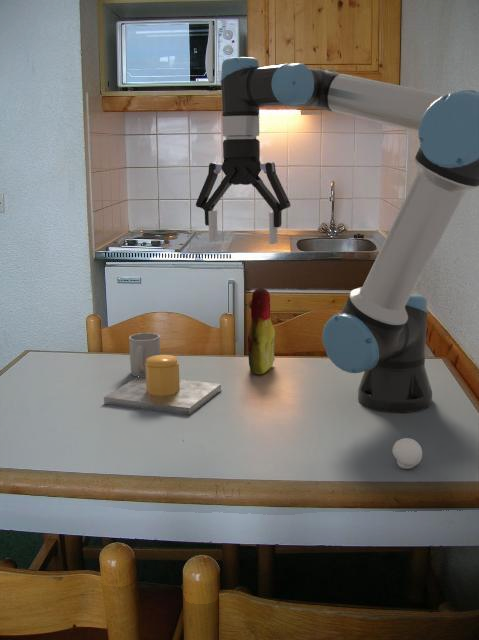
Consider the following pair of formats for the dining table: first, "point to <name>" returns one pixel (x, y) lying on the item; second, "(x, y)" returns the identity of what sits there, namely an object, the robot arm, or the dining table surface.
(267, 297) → the bottle
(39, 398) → the dining table surface
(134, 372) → the cup
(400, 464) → the mushroom
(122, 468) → the dining table surface
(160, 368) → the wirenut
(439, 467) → the dining table surface
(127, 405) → the plate
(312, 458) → the dining table surface
